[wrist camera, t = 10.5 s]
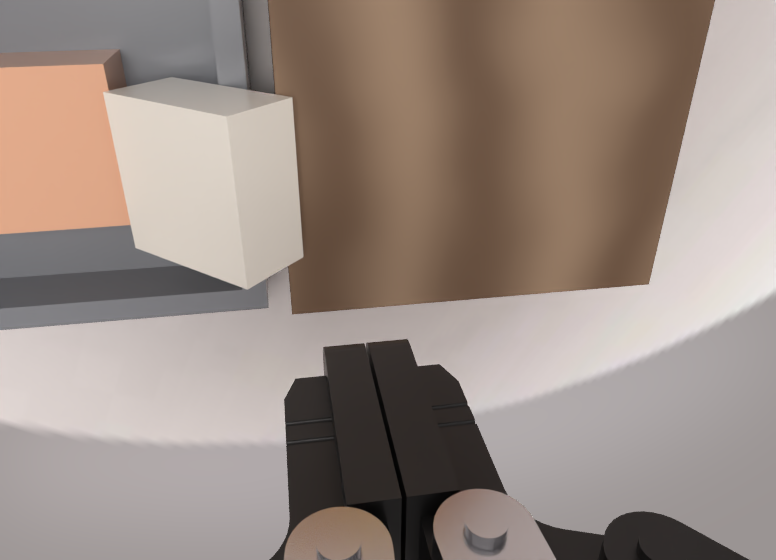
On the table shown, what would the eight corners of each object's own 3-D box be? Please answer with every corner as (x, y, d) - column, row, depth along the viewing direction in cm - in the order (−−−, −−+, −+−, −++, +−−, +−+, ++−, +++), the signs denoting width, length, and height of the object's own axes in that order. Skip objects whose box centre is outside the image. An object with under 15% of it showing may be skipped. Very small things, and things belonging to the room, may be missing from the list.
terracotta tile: (-90, 70, 21) (-51, 54, 24) (-31, 236, 24) (-3, 206, 27) (102, 63, 22) (119, 48, 25) (137, 224, 25) (148, 196, 28)
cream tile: (292, 97, 22) (226, 116, 19) (303, 257, 25) (247, 289, 22) (171, 76, 25) (102, 91, 22) (194, 222, 27) (135, 248, 25)
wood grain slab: (654, -70, 27) (730, -68, 22) (598, 237, 33) (648, 284, 29) (262, -72, 24) (262, -71, 20) (287, 259, 31) (292, 314, 27)
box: (233, -88, 24) (230, -89, 21) (267, 270, 31) (268, 307, 28) (-192, -92, 22) (-265, -94, 19) (-49, 293, 29) (-84, 336, 26)
